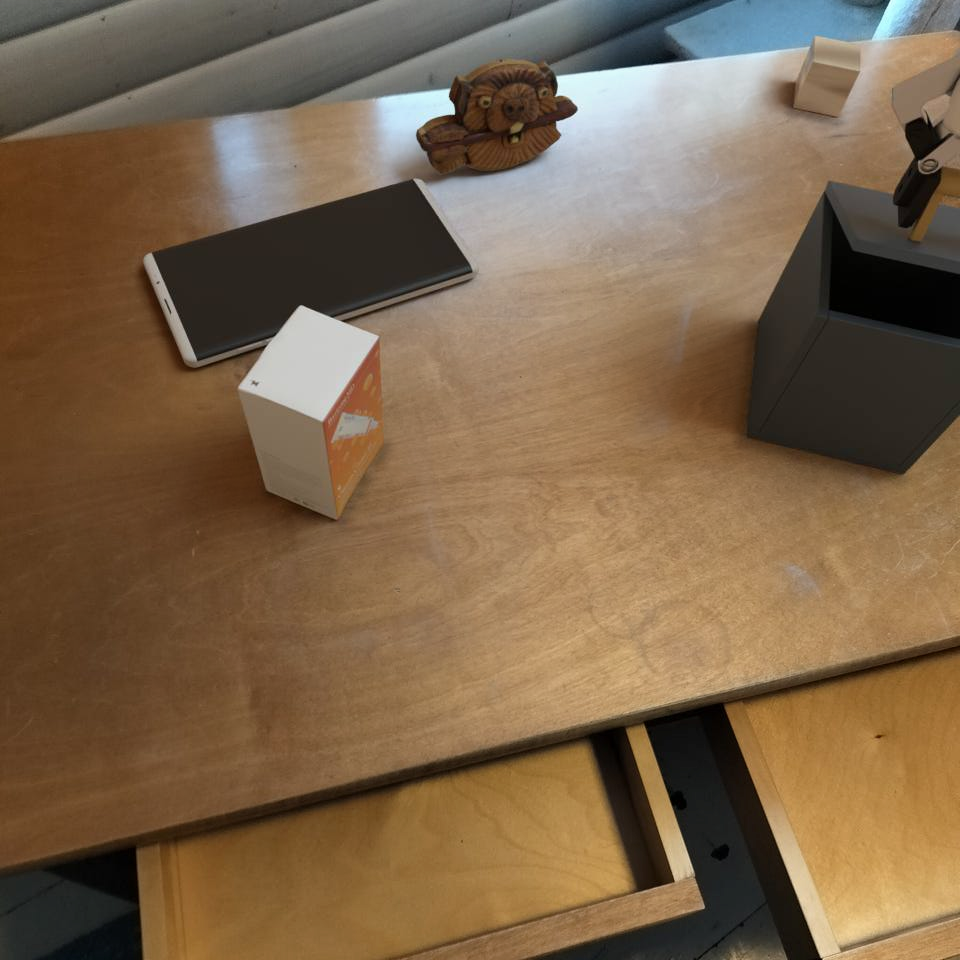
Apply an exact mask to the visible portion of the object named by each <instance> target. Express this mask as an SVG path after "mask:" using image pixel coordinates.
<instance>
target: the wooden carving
mask: <svg viewBox="0 0 960 960" xmlns="http://www.w3.org/2000/svg"><path fill="white" fill-rule="evenodd" d="M557 80H558V79H557V76H556V74H555V72H554V71H553V70H552V69H551V68H550V67H549V64H548V63H547V62H546V60H544V61H540V62H537V63H533V62H532V61H528V60H524V59H514V58H502V59H497V60H494V61H493V60H492V61H488V62H486V63H484V64H482V65H480V66H478V67H476V68H474V69H473V70H471V72H469V73H467V74H466V75H464V76H463V75H460V74H459V75H455V77H454V79H453V82H452V84H451V86H450V89H449V93H448V98H449V101H450V102H451V103H452V104H453V107H454V114H443V115H440V116H437V117H434V118H432V119H431V118H430V119H429V120H427V121H426V122H425V123H424V124H423V125H421V126H420V127H419V128H418V129H417V130H416V132H415V138H416V142H417V143H418V145H419V146H420V149H421V150H422V151H423V152H426V156H427V160H428V162H429V164H430V165H431V167H432V168H433V169H434V170H435V171H436V173H437V174H438V175H446V174H450V173H451V172H454V171H455V170H457V169H459V168H461V167H462V166H464V165H465V166H466V167H468V168H471V169H473V170H477V171H486V172H487V171H500V170H504V169H510V168H512V167H516V166H519V165H520V164H523V163H525V162H528V161H530V160H532V159H533V158H535V157H538V156H539V155H540V154H542V153H543V152H545V151H547V149H549V148H550V147H551V146H552V145H554V144H556V143H557V142H558V141H560V139H561V137H562V133H561V132H560V131H559V129H557V122H560V121H564V120H566V119H569V118H571V117H572V116H574V115H575V114H577V112H578V111H579V107H578V106H577V104H575V103H574V102H573V100H572V99H571V98H570V97H568V96H565V95H557V94H558V90H559V89H558V88H559V83H558V81H557Z"/></svg>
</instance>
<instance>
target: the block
mask: <svg viewBox="0 0 960 960" xmlns="http://www.w3.org/2000/svg"><path fill="white" fill-rule="evenodd" d="M861 52H862V45H861V44H859V43H855V42H850V41H844V40H839V39H835V38H830V37H826V36H819V35H814V36H813V39H812V41H811V43H810V46H809V48H808V51H807V53H806V56H805V58H804V60H803V63H802V65H801V66H800V67H801V68H800V70H799V72H798V75H797V77H796V80H795V85H794V95H793V96H794V97H793V105H792V106H793V109H797V110H801V111H807V112H810V113H811V112H813V113H817V114H821V115H826V116H831V117H836V118H839V117H840V114H841V113H842V110H843V109H844V106H845V104H846V102H847V100H848V98H849V96H850V94H851V91H852V90H853V87H854V86H855V83H856V82H857V79H858V77H859V74H860V73H861V61H862V60H861V59H862V58H861V57H862V56H861V55H862V53H861Z"/></svg>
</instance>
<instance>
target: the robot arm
mask: <svg viewBox="0 0 960 960" xmlns="http://www.w3.org/2000/svg"><path fill="white" fill-rule="evenodd" d="M944 95H947V96H948V97H949V101H948V107H947V109H946V111H945V112H943V113H942V114H941V115H940V116H938V118H936V119H935V120H934V121H931V118H930V116H929V114H928V112H927V111H926V109H925V108H924V105H925V104H927V103H929V102H931V101H933V100H935V99H937V98H939V97H942V96H944ZM890 100H891V101H890V103H891V108H892V110H893V113H894V114H895V116H896V119H897V120H898V122H899V125H900V126H901V128H902V130H903V132H904V137H905V140H906V142H907V144H908V146H909V148H910V149H911V152H912V154H913V158H912V160H911V161H910V163H909V165H908V167H907V168H906V170H905V172H904V173H903V175H902V176H901V178H900V180H899V182H898V184H897V185H896V187H895V189H894V192H893V194H894V195H893V204H894V205H896V206H898V226H899V227H902V228H908V227H912V226H913V224H914V222H915V221H916V219H917V218H918V216H919V215H920V213H921V212H922V210H923V209H924V207H925V206H926V204H927V202H928V201H929V199H930V198H931V196H932V195H933V193H934V192H935V190H936V189H937V187H938V186H939V184H940V182H941V167H942V166H946V164H947V163H949V162H950V161H952V160H953V159H955V157H957V156H958V155H959V154H960V45H959V46H958V47H957V49H956V50H955V52H954V54H953V55H952V57H950V58H948V59H946V60H944V61H942V62H940V63H938V64H936V65H933V66H932V67H930V68H929V67H928V68H927V69H924V70H923V71H921V72H919V73H917V74H915V75H913V76H911V77H908V78H906V79H904V80H902V81H900V82H898V83H896V84H895V85H893V86H892V88H891V90H890Z"/></svg>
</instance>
